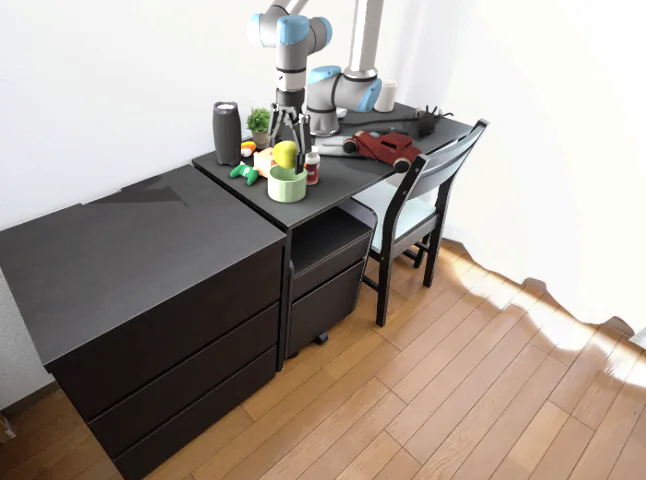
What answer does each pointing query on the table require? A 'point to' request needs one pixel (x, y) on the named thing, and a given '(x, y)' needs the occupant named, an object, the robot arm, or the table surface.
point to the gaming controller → (246, 172)
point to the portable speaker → (227, 132)
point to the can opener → (387, 131)
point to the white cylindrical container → (386, 95)
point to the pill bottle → (312, 166)
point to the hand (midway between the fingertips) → (287, 166)
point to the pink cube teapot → (264, 161)
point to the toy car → (384, 148)
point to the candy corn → (247, 148)
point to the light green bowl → (286, 184)
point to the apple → (285, 154)
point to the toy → (427, 121)
